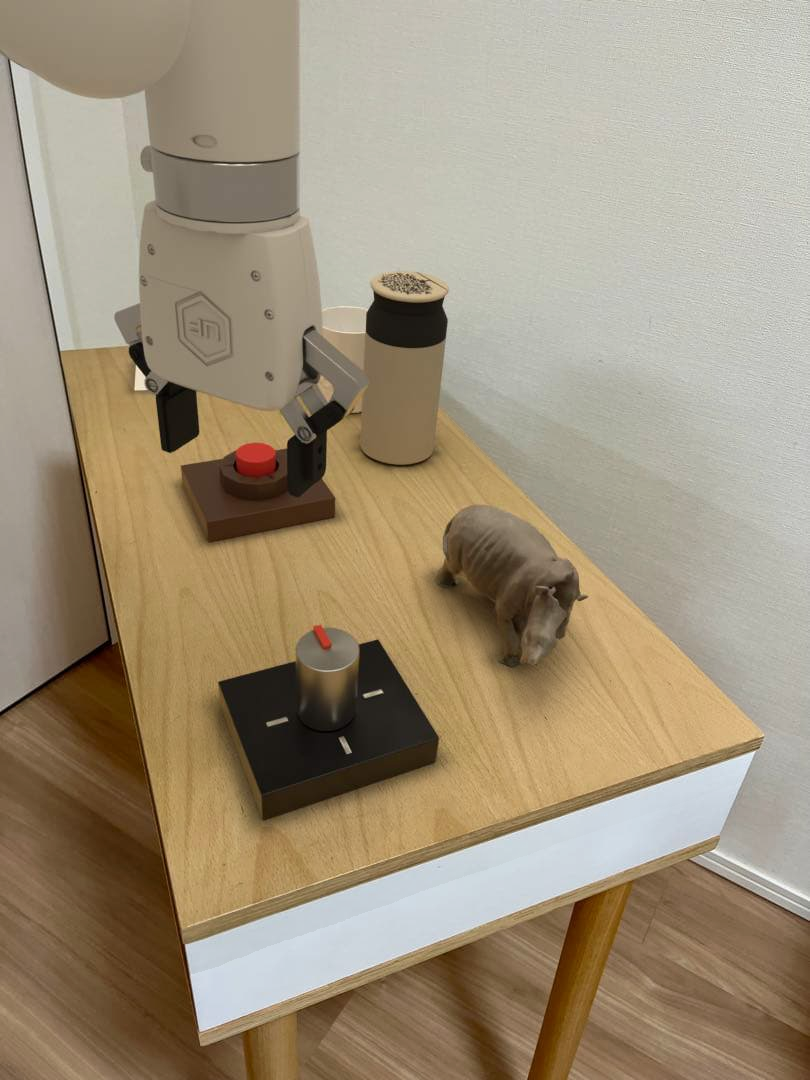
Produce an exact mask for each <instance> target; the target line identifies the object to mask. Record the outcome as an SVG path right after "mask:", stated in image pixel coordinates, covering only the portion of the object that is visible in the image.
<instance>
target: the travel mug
mask: <svg viewBox="0 0 810 1080" xmlns="http://www.w3.org/2000/svg"><path fill="white" fill-rule="evenodd" d="M370 288H371V289H372V293H373V301H372V303H371V304H370V306H369V307H368V308H367V309H368V311H367V313H366V331H365V352H364V372H365V373H366V374H367V376H368V377H369V385H368V387H367V388H366V390H365V392H364V393H363V395H362V412H360V413H361V415H360V416H361V417H360V433H359V435H360V436H359V447H360V449H361V451H362V452H363V453H364V454H365V455H367V456H368V457H369V458H371V459H372V460H373V459H374V460H376V461H378V462H380V463H384V464H390V465H397V466H399V465H412V464H416V463H420V462H422V461H425V460H427V459H428V458H429V457H431V456H432V455H433V452H434V450H435V443H436V442H435V441H436V434H437V433H436V432H437V431H436V430H437V424H438V423H437V422H438V412H439V404H440V396H441V386H442V378H443V367H444V361H445V360H444V359H445V351H446V350H445V349H446V343H447V332H448V323H449V319H448V316H447V314H446V311H445V309H444V307H443V306H444V301H445V297H446V296H447V295H448V294H449V291H450V289H449V285H448V283H446V281H444V280H443V279H441V278H439V277H437V276H435V275H432V274H429V273H424V272H419V271H410V270H395V271H393V270H392V271H387V272H382V273H379V274H377V275H375V276H374V277H372V279H371V280H370Z"/></svg>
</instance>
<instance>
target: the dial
mask: <svg viewBox="0 0 810 1080" xmlns="http://www.w3.org/2000/svg"><path fill="white" fill-rule="evenodd" d="M358 644H359V643H358V641H357V639H356V638H355V637H354V636H353V635H352V634H351V633H349V632H347V631H345V630H343V629H341V628H335V627H323V625H322V624H317V625H313V626H312V630H310V631H308V632H306V633H305V634H303V635H302V636H301V637H300V638H299V640H298V641H297V643H296V645H295V661H296V712H297V715H298V717H299V719H300V720H301V721H302V722H303V723H304V724H305V725H306V726H308V727H310V728H312V729H315V730H319V731H333V730H337V729H340V728H342V727H344V726H345V725H347V724H348V723H349V722H350V721H351V720H352V719H353V717H354V715H355V713H356V704H357V687H358V670H359V652H360V649H359V645H358Z"/></svg>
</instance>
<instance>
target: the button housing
mask: <svg viewBox="0 0 810 1080" xmlns="http://www.w3.org/2000/svg"><path fill="white" fill-rule="evenodd" d="M274 450H275V452H276V470H275V472H274V473H272V474H270V475H267V476H261V477H250V476H244V475H242V474H239V473H238V471H237V467H236V450H233V451H232V452H230V453H228V454H227V455H225V456H223V458H219V459H212V460H206V461H200V462H194V463H186V464H182V465H180V472H181V483H182V486H183V489H184V491H185V493H186V495H187V497H188V500H189V502H190V504H191V507H192V509H193V511H194V513H195V515H196V518H197V520H198V522H199V524H200V527H201V529H202V531H203V534H204V536H205V538H206V540H207V542H208V543H211V542H216V541H221V540H226V539H231V538H235V537H236V538H237V537H241V536H247V535H250V534H251V535H252V534H256V533H257V534H258V533H261V532H262V533H263V532H266V531H272V530H276V529H281V528H287V527H291V526H296V525H303V524H306V523H311V522H316V521H321V520H327V519H333V518H335V517H336V497H335V495H334V494H333V492H332V491H331V489H330V488H329V487H328V485H327V484H326V482H325V481H324V479H323V478H322V479H321V480H319V481H318V482H317V483H315V484H314V485H313V486H311V487H310V488H309V489H308V490H307V491H306V492H305V493H303V494H302V495H301V496H300V497H299V498H297V497H294V496H292V495H290V494H289V492H288V490H287V448H280V449H274Z"/></svg>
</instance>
